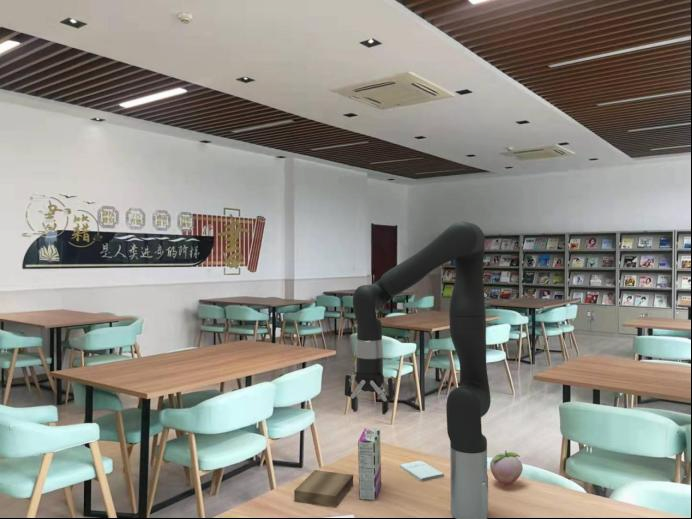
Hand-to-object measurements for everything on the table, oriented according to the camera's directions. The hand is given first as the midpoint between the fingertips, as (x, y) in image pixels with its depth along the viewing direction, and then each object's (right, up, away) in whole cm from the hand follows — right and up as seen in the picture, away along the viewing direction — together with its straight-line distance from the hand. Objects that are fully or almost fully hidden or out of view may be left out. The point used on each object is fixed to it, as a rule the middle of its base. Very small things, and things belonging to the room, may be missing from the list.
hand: (369, 412), depth 153 cm
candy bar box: (0, -23, 0) cm, 23 cm away
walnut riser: (-13, -23, 0) cm, 26 cm away
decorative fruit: (+40, -22, +4) cm, 46 cm away
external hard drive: (+17, -23, +14) cm, 32 cm away
